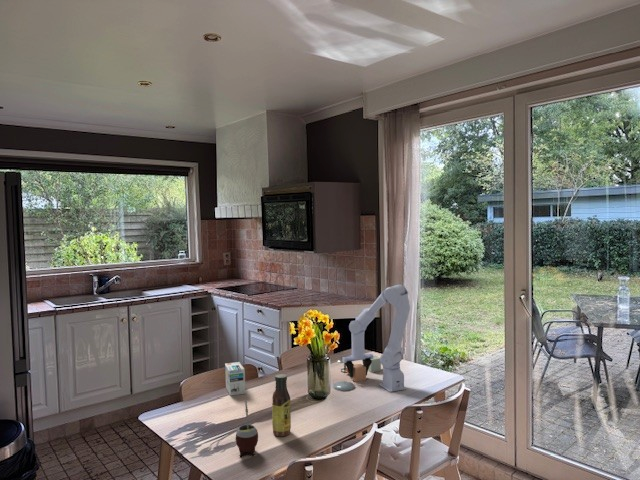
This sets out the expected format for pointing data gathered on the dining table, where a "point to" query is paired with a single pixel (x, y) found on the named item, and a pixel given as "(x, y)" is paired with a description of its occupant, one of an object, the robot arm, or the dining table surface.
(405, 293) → the robot arm
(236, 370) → the light bulb box
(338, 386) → the saucer
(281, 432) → the sauce bottle
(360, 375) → the peach matte cube
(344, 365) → the balance
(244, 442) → the mate gourd
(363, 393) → the dining table surface
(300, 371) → the dining table surface
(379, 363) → the sage green cube
